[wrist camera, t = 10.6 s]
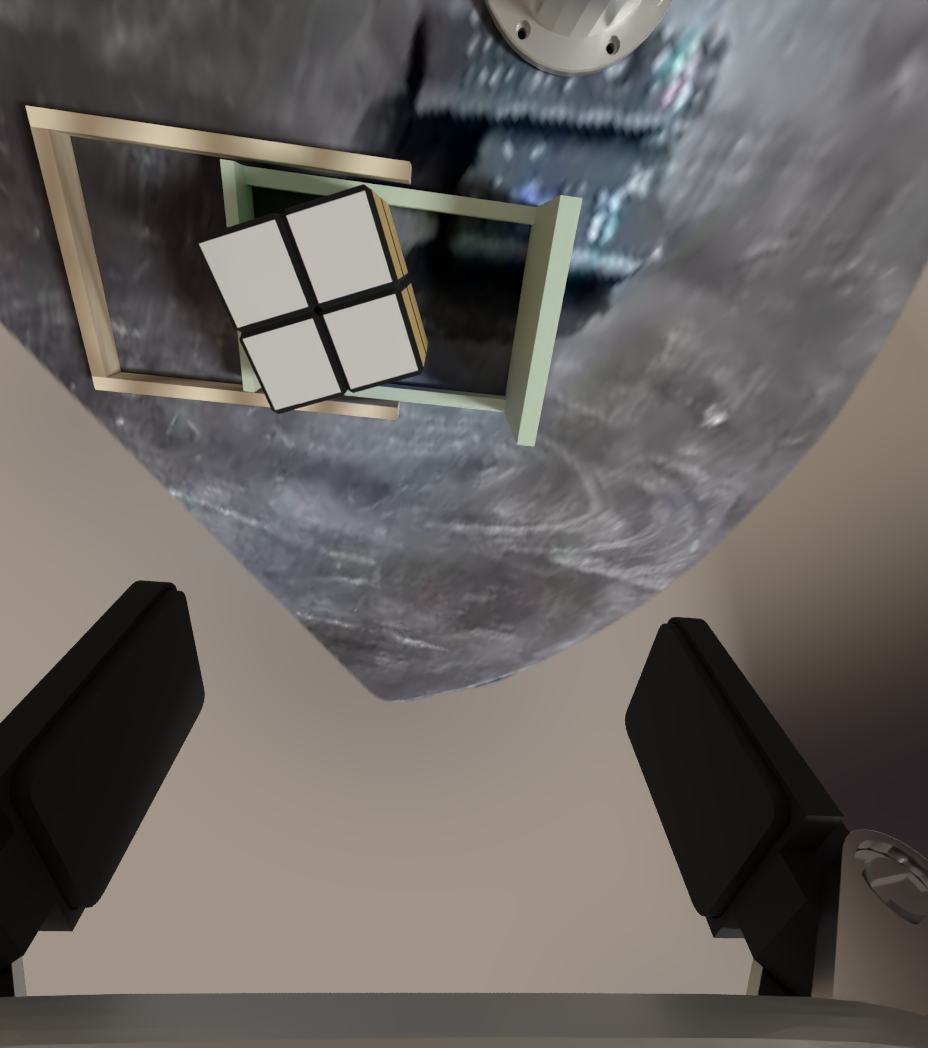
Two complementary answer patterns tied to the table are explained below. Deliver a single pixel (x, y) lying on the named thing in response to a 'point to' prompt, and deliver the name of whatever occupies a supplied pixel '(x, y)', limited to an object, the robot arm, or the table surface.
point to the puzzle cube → (319, 298)
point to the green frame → (537, 299)
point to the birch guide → (82, 263)
